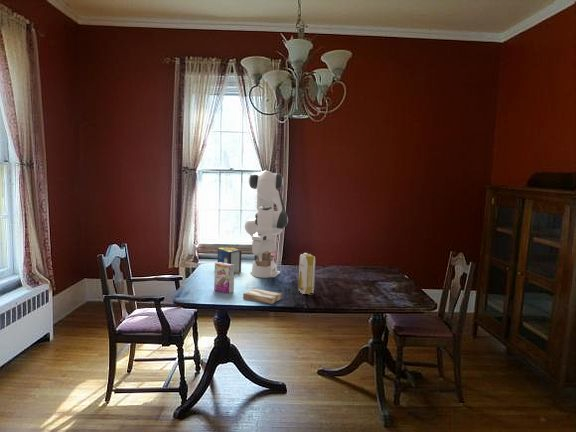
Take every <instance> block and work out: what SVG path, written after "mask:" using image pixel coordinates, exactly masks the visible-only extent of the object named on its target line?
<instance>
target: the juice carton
mask: <svg viewBox="0 0 576 432" xmlns="http://www.w3.org/2000/svg"><path fill="white" fill-rule="evenodd" d="M298 264H299V265H298V281H297V282H298V283H297V284H298V285H297V286H298V292H299V291H300V292H299V293H301V294H302V295H303V294H308V295H311V294H310V293H313V294H314V291H315V279H316V276H315V275H316V256H314V255H312V254H311V253H308V252H304V253H301V254H300V255H299V263H298Z"/></svg>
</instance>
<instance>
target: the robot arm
mask: <svg viewBox="0 0 576 432" xmlns="http://www.w3.org/2000/svg"><path fill="white" fill-rule="evenodd" d="M248 184H249V188H251V189H254V190H256V191H257V192H256V210H257V212H256V213H255V216H254V217H255V218H248V219H247V220H246V222H245V224H244V229H245V231H246V233H247V235H249V236H250V237H251V240H252V242H251V243H252V244H251V245H252V246H251V252H252V254H253V255H254V256H253V259H254V261H253V262H252V267H251V271H250V272H249V273H250V275H251V276H253V277H255V278H276V277H277V276H278V275H280V274H281V271H280V270H278V265H277V263H276V262H274V259H273V258H274V257H275V255H274V254H272V253H271V266H268V267H261V266H257V255H258V257H259V261H263V258H262V254H263V253H265V252H268V251H271V252H272V251H274V250H275V249H276V238H275V236H276V235H280V234H282V232H283V230H284V228H286V227H287V226H288V222H289V218H288V214H287V210H286V209H285V204H284V199H283V196H282V193H281V192H280V189H282V187H283V185H284V177H283V175H282V174H281V173H278V172H277V173H276V172H275V173H274V172H271V170H263V171H261V172H252V173H251V174H249V178H248ZM274 204H275V206H276V209H277V210H274Z"/></svg>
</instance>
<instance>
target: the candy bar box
mask: <svg viewBox="0 0 576 432" xmlns="http://www.w3.org/2000/svg"><path fill="white" fill-rule="evenodd" d="M213 286H214V289H213V290H214V291H216V292H221V293H225V294H231V293H234V289H235V273H234V265H232V264H227V263H222V262H218V261H217V262H215V263H214V285H213Z"/></svg>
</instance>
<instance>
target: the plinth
mask: <svg viewBox="0 0 576 432" xmlns="http://www.w3.org/2000/svg"><path fill="white" fill-rule="evenodd" d="M281 298H283V293H281V292H276V291H269V290H264V289H261V288H252V289H249V290H247V291H246V292H243V294H242V299H244V300H248V301H249V300H250V301H253V302H258V303H265V304H270V305H272V304H274V303H276V302H279V301H280V300H282V299H281Z"/></svg>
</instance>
